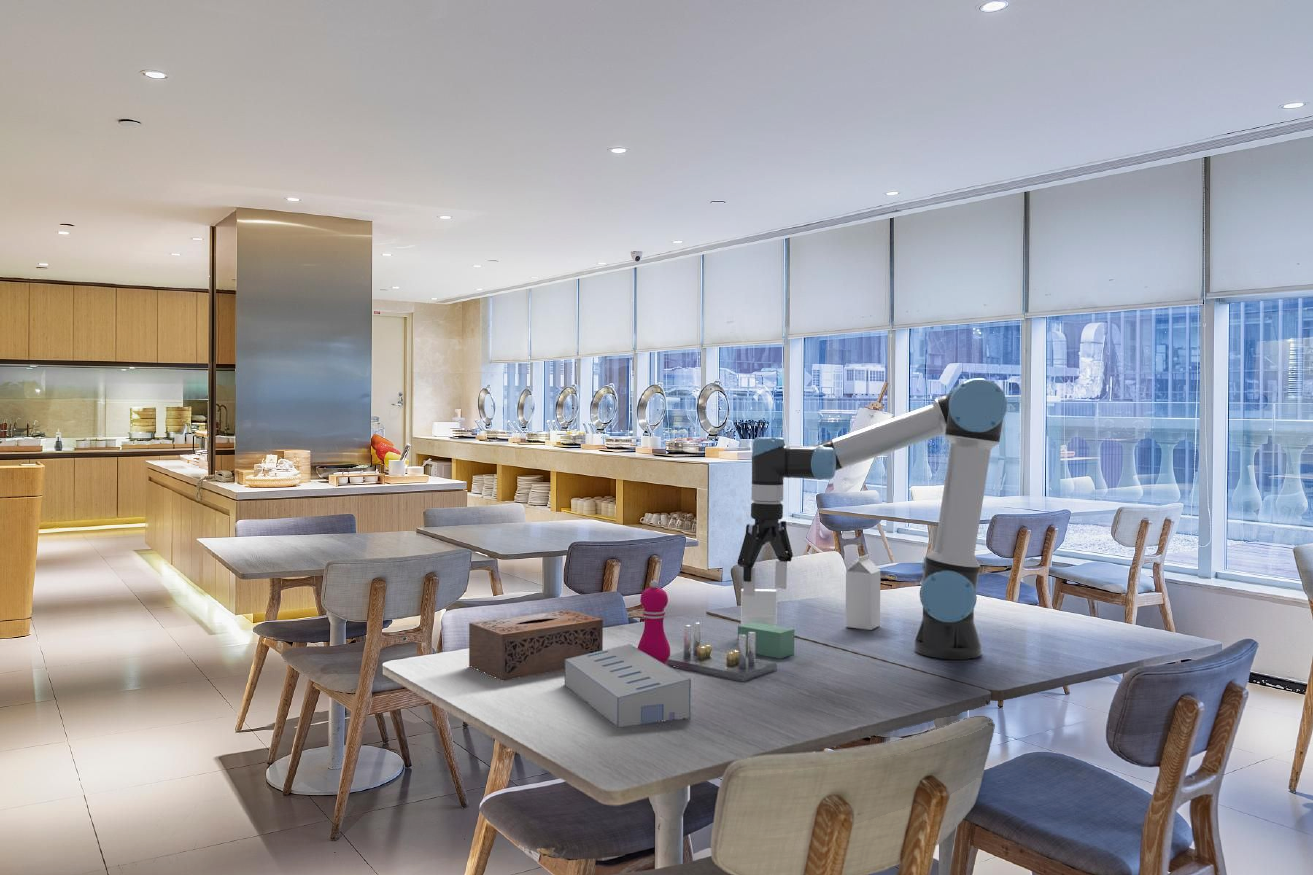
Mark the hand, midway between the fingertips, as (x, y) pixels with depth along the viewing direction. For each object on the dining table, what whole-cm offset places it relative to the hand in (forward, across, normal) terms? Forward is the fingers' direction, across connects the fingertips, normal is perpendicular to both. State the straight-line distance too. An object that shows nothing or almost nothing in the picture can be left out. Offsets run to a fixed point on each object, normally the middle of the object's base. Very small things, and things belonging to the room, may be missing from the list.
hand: (765, 591), depth 229 cm
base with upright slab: (+14, -12, -10) cm, 21 cm away
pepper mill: (+15, +32, -8) cm, 36 cm away
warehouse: (+15, +52, +1) cm, 54 cm away
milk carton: (+14, -41, +4) cm, 44 cm away
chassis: (+14, +19, 0) cm, 24 cm away
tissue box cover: (+15, +44, -32) cm, 56 cm away
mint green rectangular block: (+14, 0, 0) cm, 14 cm away
